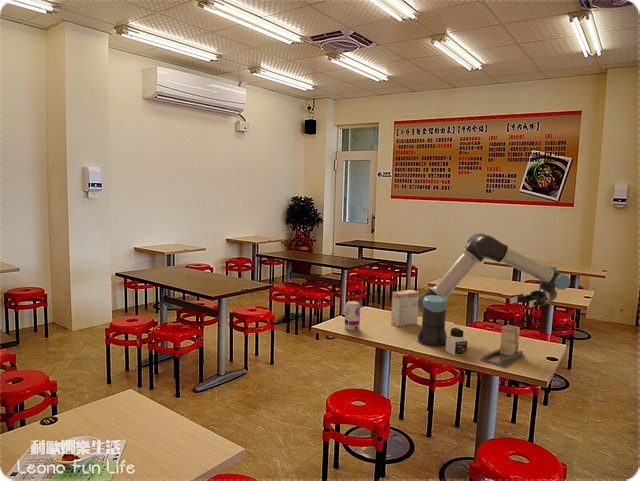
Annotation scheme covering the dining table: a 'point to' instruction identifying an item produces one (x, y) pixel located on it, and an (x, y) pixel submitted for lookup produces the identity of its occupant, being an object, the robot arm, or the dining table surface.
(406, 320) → the coffeecake box
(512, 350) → the birch block
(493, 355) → the guide track
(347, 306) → the supplement can
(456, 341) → the medicine bottle
